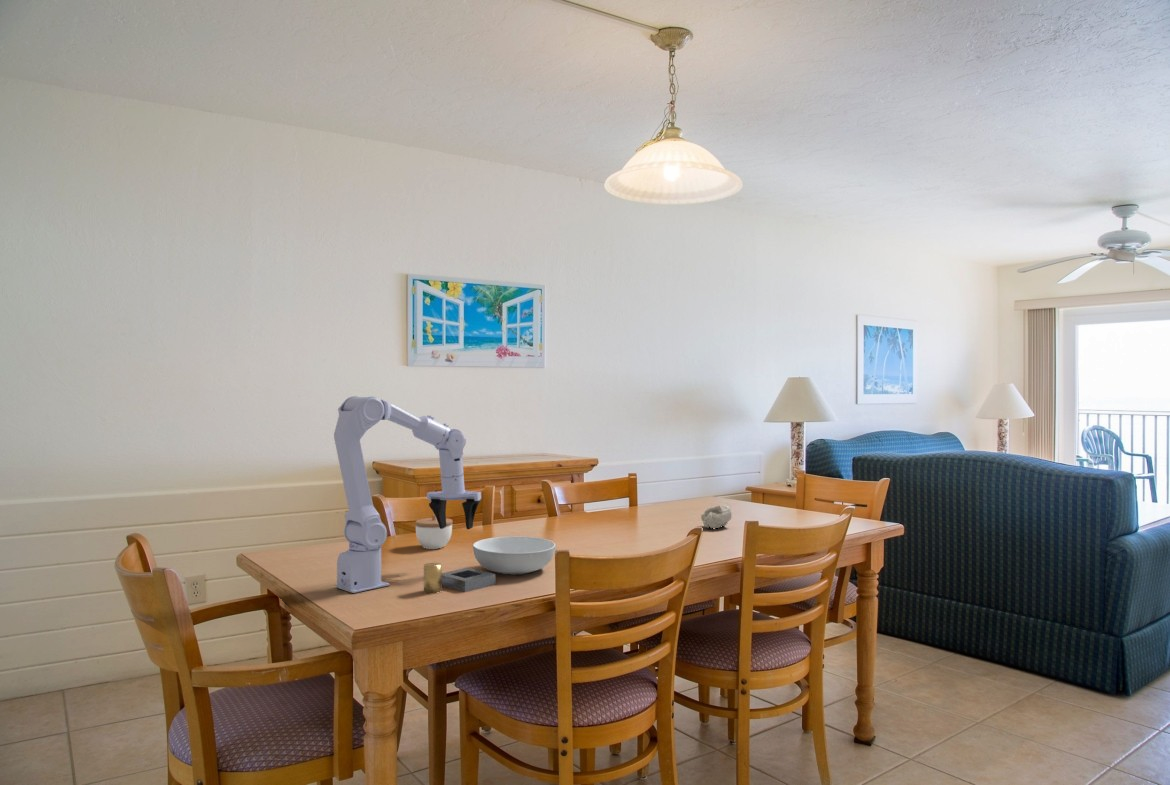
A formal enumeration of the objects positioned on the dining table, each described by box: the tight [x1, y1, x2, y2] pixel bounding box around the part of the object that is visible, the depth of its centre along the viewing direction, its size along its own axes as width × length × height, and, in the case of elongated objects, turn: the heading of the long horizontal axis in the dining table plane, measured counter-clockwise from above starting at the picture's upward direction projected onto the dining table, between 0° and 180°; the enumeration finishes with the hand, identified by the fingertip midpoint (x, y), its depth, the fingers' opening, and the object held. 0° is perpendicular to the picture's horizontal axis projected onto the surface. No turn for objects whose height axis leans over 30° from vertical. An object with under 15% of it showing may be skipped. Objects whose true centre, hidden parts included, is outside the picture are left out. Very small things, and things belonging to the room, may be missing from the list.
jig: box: [442, 567, 496, 593], centre depth 176 cm, size 9×10×2 cm
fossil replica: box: [700, 503, 733, 529], centre depth 251 cm, size 12×8×10 cm
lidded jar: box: [414, 514, 454, 550], centre depth 219 cm, size 11×11×9 cm
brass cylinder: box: [423, 562, 443, 594], centre depth 170 cm, size 4×4×6 cm
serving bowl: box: [472, 535, 557, 576], centre depth 189 cm, size 21×21×7 cm
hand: (456, 528), depth 191 cm, fingers open, 7 cm apart
